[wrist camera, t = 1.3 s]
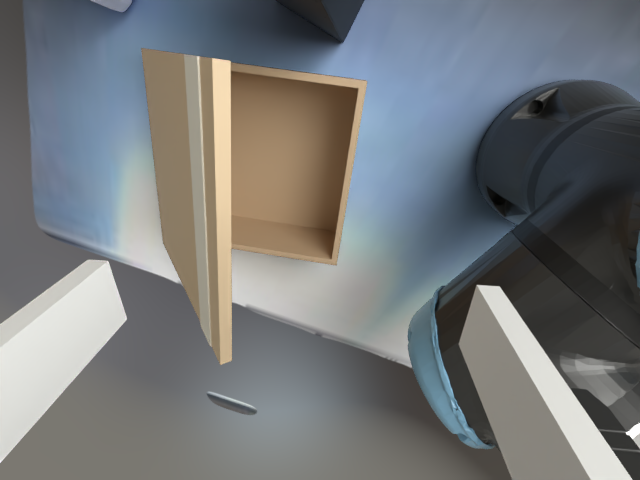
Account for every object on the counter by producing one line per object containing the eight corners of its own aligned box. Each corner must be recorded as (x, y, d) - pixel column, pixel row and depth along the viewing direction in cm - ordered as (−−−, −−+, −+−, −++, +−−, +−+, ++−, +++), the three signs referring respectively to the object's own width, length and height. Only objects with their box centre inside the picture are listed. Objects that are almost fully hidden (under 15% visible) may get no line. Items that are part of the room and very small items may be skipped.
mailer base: (365, 80, 34) (367, 81, 27) (340, 233, 42) (336, 265, 35) (198, 57, 35) (157, 52, 28) (205, 212, 43) (175, 239, 36)
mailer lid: (230, 60, 14) (209, 58, 14) (231, 360, 23) (219, 365, 22) (151, 49, 28) (139, 47, 27) (171, 241, 36) (162, 243, 35)
